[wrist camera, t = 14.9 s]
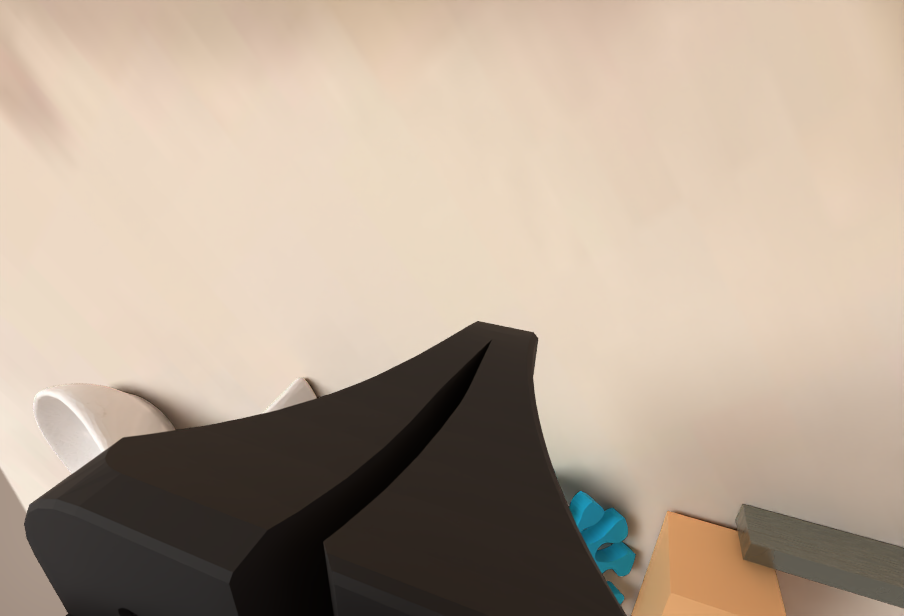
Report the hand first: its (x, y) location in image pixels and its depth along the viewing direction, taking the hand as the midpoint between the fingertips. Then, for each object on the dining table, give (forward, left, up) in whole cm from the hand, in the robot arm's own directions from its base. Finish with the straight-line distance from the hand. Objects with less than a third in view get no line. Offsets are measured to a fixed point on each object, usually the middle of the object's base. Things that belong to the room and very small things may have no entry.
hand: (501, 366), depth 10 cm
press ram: (-8, +17, -9) cm, 21 cm away
